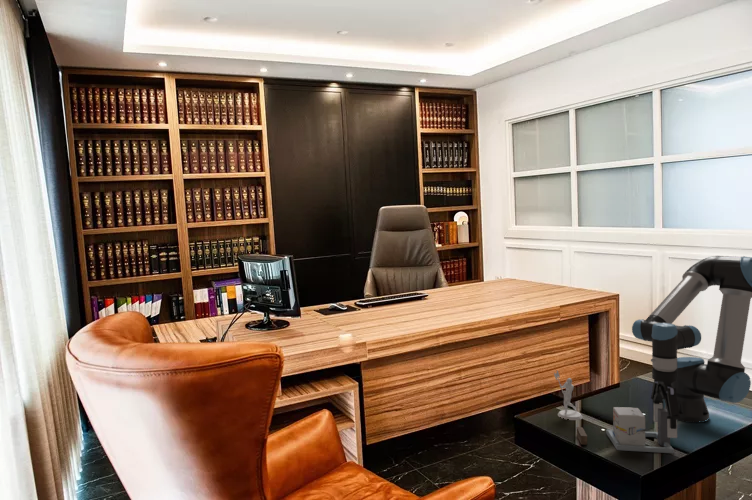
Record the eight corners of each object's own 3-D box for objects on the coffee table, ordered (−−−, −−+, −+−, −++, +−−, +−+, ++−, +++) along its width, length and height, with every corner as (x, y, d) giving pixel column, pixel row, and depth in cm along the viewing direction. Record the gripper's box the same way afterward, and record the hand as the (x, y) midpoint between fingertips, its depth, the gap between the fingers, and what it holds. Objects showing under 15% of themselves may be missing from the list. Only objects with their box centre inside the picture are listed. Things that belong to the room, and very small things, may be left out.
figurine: (552, 412, 210) (552, 369, 210) (573, 410, 212) (573, 367, 211) (565, 421, 201) (565, 375, 200) (587, 419, 202) (587, 373, 202)
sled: (661, 436, 184) (661, 403, 184) (676, 453, 170) (676, 417, 170) (606, 433, 188) (606, 400, 187) (616, 449, 174) (616, 415, 173)
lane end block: (582, 435, 187) (582, 427, 186) (587, 444, 179) (587, 436, 179) (576, 435, 187) (576, 427, 187) (581, 444, 179) (581, 435, 179)
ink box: (612, 438, 184) (612, 406, 183) (638, 439, 182) (638, 407, 182) (619, 448, 175) (619, 414, 175) (645, 449, 174) (645, 415, 173)
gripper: (641, 359, 190) (641, 415, 190) (665, 379, 165) (666, 443, 166) (663, 359, 188) (663, 416, 189) (691, 379, 164) (691, 445, 165)
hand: (664, 429), depth 178 cm, fingers open, 13 cm apart
